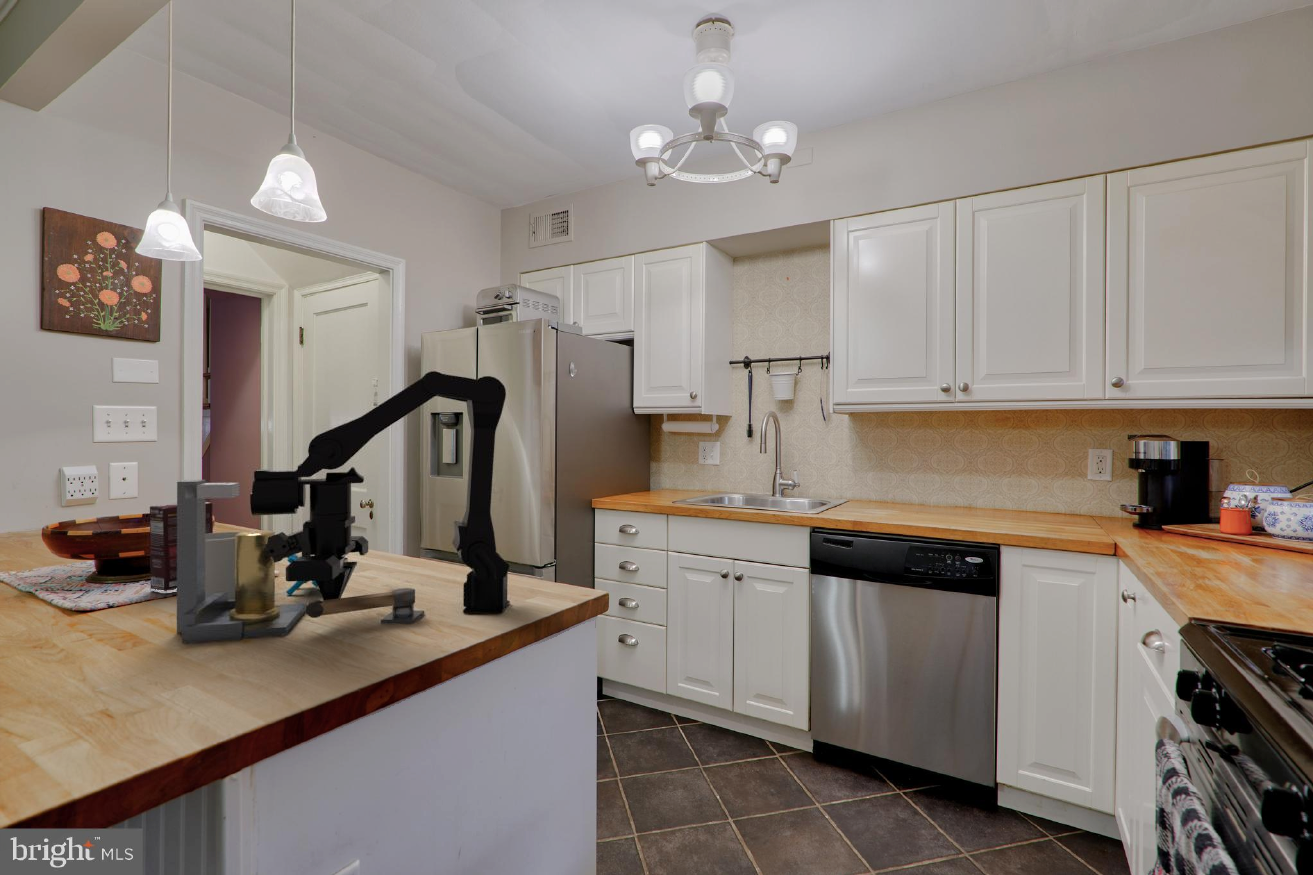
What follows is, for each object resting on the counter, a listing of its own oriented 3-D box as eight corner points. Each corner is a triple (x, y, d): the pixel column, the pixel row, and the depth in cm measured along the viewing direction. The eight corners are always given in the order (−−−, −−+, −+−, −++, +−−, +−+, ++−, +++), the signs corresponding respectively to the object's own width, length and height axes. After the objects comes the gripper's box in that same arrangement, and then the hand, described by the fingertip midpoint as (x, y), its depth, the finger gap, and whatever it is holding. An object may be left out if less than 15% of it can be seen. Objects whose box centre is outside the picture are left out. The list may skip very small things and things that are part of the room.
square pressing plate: (424, 614, 103) (424, 601, 103) (412, 623, 98) (412, 609, 98) (394, 613, 103) (394, 600, 103) (380, 623, 98) (380, 609, 98)
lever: (412, 600, 103) (412, 585, 103) (417, 606, 100) (417, 590, 100) (304, 615, 94) (304, 598, 94) (307, 622, 91) (307, 604, 91)
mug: (191, 606, 106) (191, 541, 105) (188, 595, 112) (189, 534, 112) (273, 595, 113) (273, 534, 113) (266, 585, 120) (267, 528, 120)
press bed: (307, 609, 105) (308, 476, 105) (284, 636, 92) (285, 484, 91) (200, 615, 100) (200, 476, 100) (159, 645, 87) (160, 485, 87)
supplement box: (198, 581, 122) (198, 500, 121) (214, 584, 120) (214, 502, 119) (147, 592, 114) (148, 505, 113) (163, 595, 112) (164, 507, 111)
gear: (331, 589, 111) (287, 551, 110) (304, 615, 109) (259, 577, 108) (339, 583, 122) (299, 548, 120) (314, 607, 120) (273, 572, 118)
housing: (289, 613, 99) (290, 531, 98) (251, 625, 92) (251, 538, 92) (258, 608, 101) (258, 529, 100) (218, 620, 94) (218, 535, 94)
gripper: (298, 503, 104) (299, 595, 105) (244, 523, 86) (245, 634, 87) (369, 503, 106) (369, 593, 107) (331, 522, 88) (331, 631, 88)
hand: (331, 611), depth 97 cm, fingers closed
